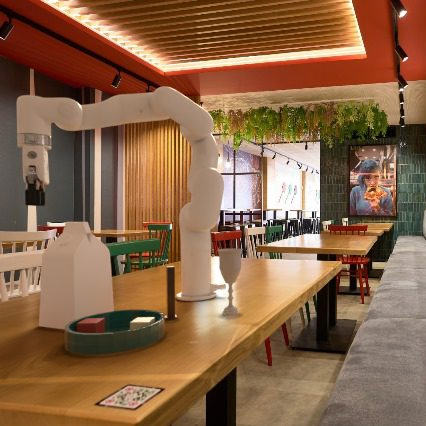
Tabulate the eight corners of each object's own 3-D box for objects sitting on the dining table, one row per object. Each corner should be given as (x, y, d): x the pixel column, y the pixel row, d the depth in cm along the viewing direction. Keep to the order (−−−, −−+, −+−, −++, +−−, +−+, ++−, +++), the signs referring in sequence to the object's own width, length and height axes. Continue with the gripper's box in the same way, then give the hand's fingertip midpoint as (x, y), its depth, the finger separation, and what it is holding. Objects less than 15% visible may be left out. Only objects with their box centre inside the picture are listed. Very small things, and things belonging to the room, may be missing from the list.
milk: (114, 320, 105) (113, 221, 104) (75, 333, 94) (73, 223, 93) (80, 316, 109) (79, 221, 108) (38, 328, 98) (37, 222, 97)
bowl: (158, 323, 102) (158, 305, 101) (171, 346, 84) (171, 325, 84) (67, 335, 92) (67, 316, 92) (61, 364, 75) (61, 340, 75)
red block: (105, 335, 90) (104, 317, 90) (95, 341, 86) (95, 323, 86) (86, 335, 90) (86, 318, 90) (76, 341, 86) (76, 323, 86)
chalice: (220, 312, 112) (219, 248, 112) (244, 311, 112) (244, 248, 112) (215, 319, 105) (215, 251, 104) (241, 318, 105) (241, 251, 105)
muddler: (176, 318, 106) (175, 265, 106) (178, 321, 103) (178, 266, 103) (163, 320, 104) (163, 266, 104) (165, 323, 102) (164, 267, 101)
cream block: (129, 340, 86) (129, 322, 86) (137, 334, 90) (137, 317, 90) (148, 340, 87) (148, 321, 87) (155, 334, 91) (155, 316, 90)
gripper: (47, 138, 102) (48, 205, 103) (54, 148, 118) (55, 205, 118) (10, 136, 99) (12, 205, 99) (23, 146, 114) (24, 206, 114)
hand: (35, 205), depth 108 cm, fingers open, 9 cm apart
